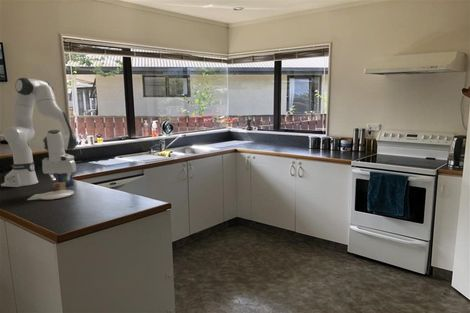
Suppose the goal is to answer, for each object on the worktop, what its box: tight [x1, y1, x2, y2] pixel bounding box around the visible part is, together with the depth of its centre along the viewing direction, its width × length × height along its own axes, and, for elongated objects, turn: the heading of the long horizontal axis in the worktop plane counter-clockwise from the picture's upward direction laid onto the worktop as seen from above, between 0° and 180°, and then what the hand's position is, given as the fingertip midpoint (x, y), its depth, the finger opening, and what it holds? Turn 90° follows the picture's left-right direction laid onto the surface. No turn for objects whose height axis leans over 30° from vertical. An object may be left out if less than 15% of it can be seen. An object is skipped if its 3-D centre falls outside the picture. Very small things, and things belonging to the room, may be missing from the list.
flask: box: [56, 173, 74, 188], centre depth 228 cm, size 9×3×11 cm, turn 144°
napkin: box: [26, 193, 42, 201], centre depth 205 cm, size 8×12×1 cm, turn 10°
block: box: [52, 181, 67, 191], centre depth 216 cm, size 5×5×5 cm
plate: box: [39, 189, 75, 200], centre depth 205 cm, size 18×18×1 cm
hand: (60, 180), depth 216 cm, fingers open, 8 cm apart
